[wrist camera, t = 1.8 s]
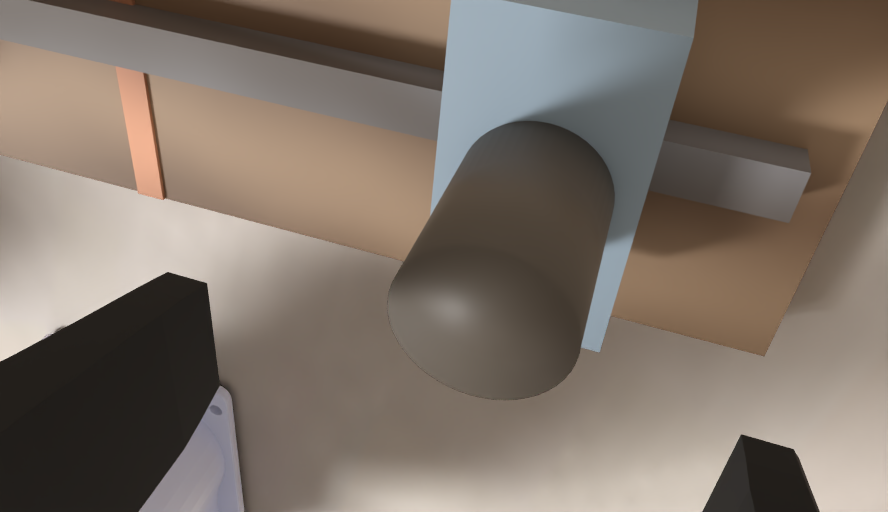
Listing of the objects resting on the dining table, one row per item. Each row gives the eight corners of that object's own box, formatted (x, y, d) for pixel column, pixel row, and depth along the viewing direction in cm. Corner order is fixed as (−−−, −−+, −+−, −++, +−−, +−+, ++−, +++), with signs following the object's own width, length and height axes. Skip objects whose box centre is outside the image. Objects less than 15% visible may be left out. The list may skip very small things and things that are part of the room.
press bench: (762, 318, 20) (769, 493, 16) (-121, 92, 25) (-302, 178, 21) (949, -86, 14) (1044, 16, 10) (-264, -279, 19) (-562, -269, 15)
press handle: (611, 295, 18) (567, 505, 14) (447, 253, 19) (352, 438, 14) (698, -2, 14) (679, 156, 9) (482, -43, 15) (363, 85, 10)
